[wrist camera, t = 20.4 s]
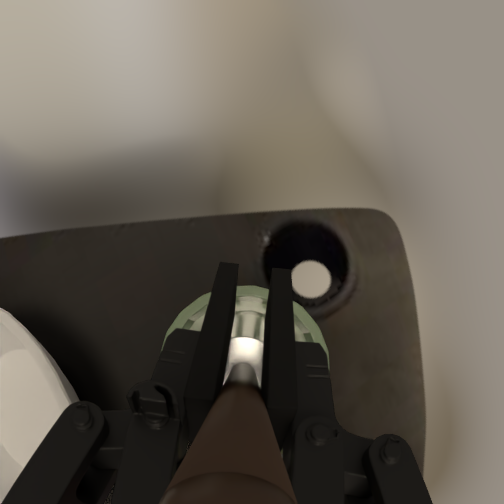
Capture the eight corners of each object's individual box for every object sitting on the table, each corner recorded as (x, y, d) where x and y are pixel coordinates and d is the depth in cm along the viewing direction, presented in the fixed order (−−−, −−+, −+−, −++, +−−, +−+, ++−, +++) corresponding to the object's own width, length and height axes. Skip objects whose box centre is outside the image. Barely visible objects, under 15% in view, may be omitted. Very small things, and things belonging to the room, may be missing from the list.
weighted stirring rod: (291, 374, 20) (522, 510, 1) (237, 415, 19) (208, 682, 1) (248, 323, 20) (269, 173, 2) (195, 364, 20) (-60, 446, 2)
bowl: (158, 511, 21) (132, 556, 13) (3, 495, 19) (-38, 514, 11) (100, 294, 26) (51, 275, 18) (-39, 325, 25) (-87, 315, 17)
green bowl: (337, 370, 25) (361, 377, 19) (234, 450, 23) (231, 478, 17) (255, 271, 27) (257, 252, 22) (152, 350, 25) (127, 351, 20)
